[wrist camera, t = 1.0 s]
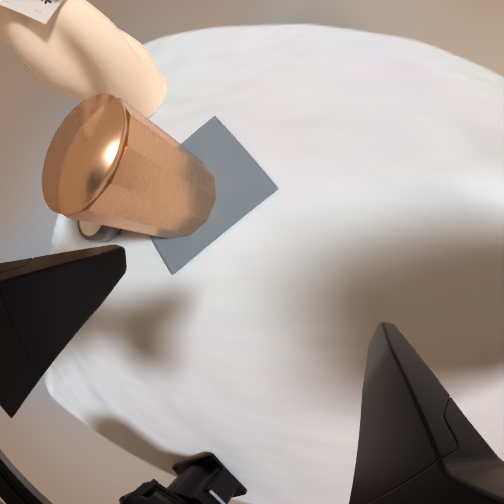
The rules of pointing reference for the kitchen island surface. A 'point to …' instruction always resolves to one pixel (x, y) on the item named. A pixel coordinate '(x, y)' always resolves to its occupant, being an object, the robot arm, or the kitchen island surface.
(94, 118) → the brown tapered cup
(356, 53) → the kitchen island surface
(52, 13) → the water bottle
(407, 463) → the robot arm
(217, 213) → the slate mat
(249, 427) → the kitchen island surface
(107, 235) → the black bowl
